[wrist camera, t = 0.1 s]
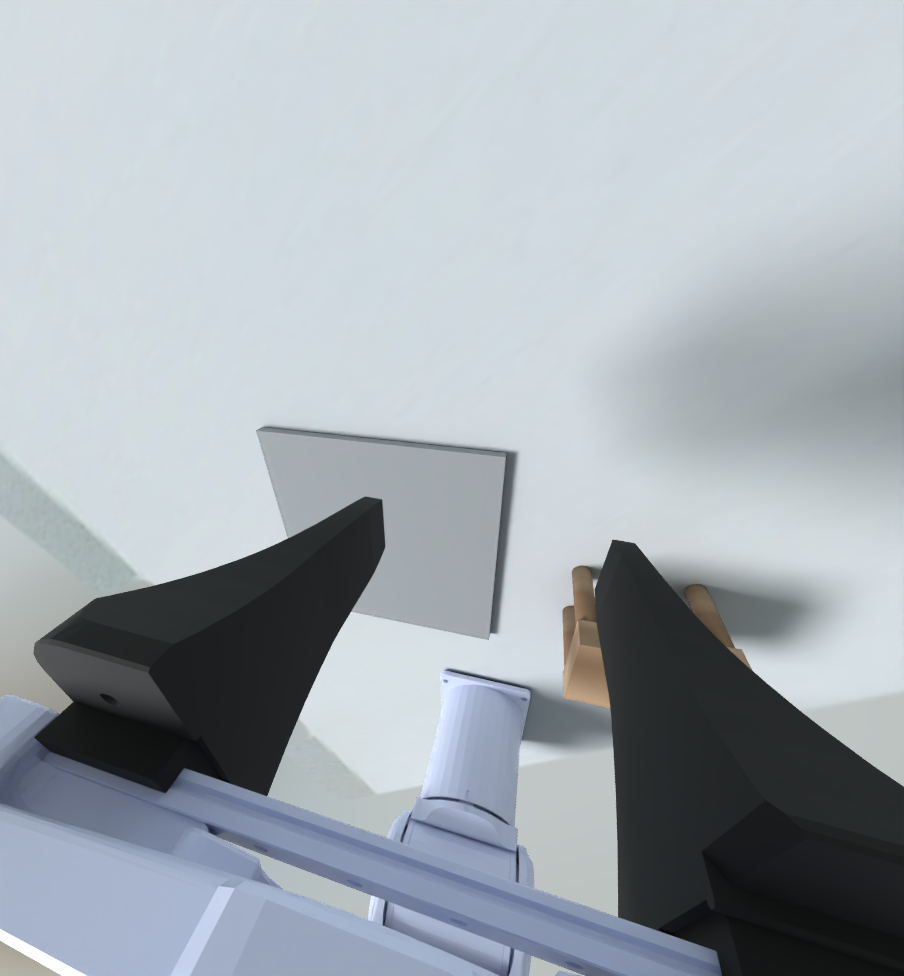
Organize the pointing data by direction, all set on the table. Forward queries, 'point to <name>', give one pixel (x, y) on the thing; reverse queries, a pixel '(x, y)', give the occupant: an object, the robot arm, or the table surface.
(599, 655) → the stool
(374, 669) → the table surface
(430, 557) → the mat
